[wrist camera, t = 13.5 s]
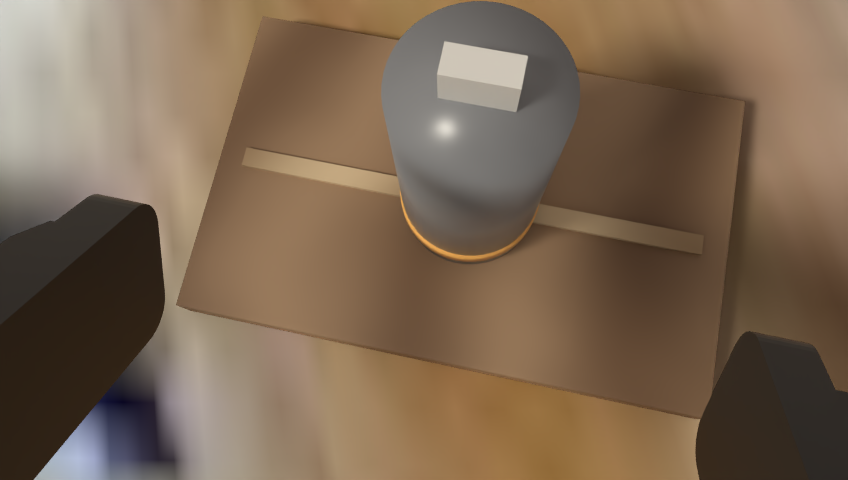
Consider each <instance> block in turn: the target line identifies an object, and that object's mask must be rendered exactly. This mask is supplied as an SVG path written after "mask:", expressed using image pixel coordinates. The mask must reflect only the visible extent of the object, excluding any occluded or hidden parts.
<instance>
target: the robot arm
mask: <svg viewBox="0 0 848 480" xmlns="http://www.w3.org/2000/svg"><path fill="white" fill-rule="evenodd" d="M164 304H165V290H164V279H163V269H162V258H161V248H160V237H159V227H158V219H157V215H156V212H155V210H154V209H153V208H152V207H151V206H150V205H147V204H143V203H138V202H133V201H128V200H123V199H118V198H114V197H109V196H104V195H99V194H94V195H91V196H89V197H87V198H86V199H84V200H83V201H82V202H80V203H79V204H78V205H76V206H75V207H74V208H73V209H71V210H70V211H69V212H67V213H66V214H65V215H63V216H62V217H61V218H59V219H58V220H57V221H55V222H53V221H49V222H46V223H44V224H41V225H39V226H36V227H34V228H31V229H29V230H26V231H23V232H21V233H18V234H16V235H13V236H11V237H9V238H8V239H6V240H5V241H4V242H2V243H1V244H0V480H34V478H35V477H36V476H37V475H38V474H39V472H40V471H41V470H42V469H43V468H44V466H45V465H46V464H47V463H48V462H49V460H50V459H51V458H52V457H53V456H54V454H55V453H56V452H57V451H58V450H59V448H60V447H61V446H62V445H63V444H64V442H65V441H66V440H67V439H68V438H69V436H70V435H71V434H72V433H73V432H74V430H75V429H76V428H77V427H78V426H79V424H80V423H81V422H82V421H83V420H84V418H85V417H86V416H87V415H88V414H89V412H90V411H91V410H92V409H93V408H94V406H95V405H96V404H97V403H98V402H99V400H100V399H101V398H102V397H103V396H104V394H105V393H106V392H107V391H108V389H109V388H110V387H111V386H112V385H113V383H114V382H115V381H116V380H117V379H118V377H119V376H120V375H121V374H122V373H123V371H124V370H125V369H126V368H127V367H128V365H129V364H130V363H131V362H132V361H133V359H134V358H135V357H136V356H137V355H138V353H139V352H140V351H141V350H142V349H143V347H144V346H145V345H146V344H147V343H148V341H149V340H150V339H151V338H152V336H153V335H154V333H155V331H156V330H157V328H158V325H159V323H160V320H161V317H162V314H163V310H164ZM696 464H697V469H698V474H699V480H848V393H847V392H843V391H838V390H835V388H834V386H833V384H832V381H831V379H830V377H829V375H828V373H827V371H826V369H825V367H824V364H823V362H822V360H821V358H820V356H819V354H818V352H817V350H816V348H815V347H814V346H813V345H811V344H808V343H804V342H799V341H794V340H789V339H784V338H780V337H775V336H770V335H765V334H760V333H756V332H750V331H748V332H745V333H744V334H743V335H742V336H741V337H740V338H739V340H738V341H737V343H736V345H735V347H734V349H733V351H732V353H731V355H730V357H729V359H728V362H727V364H726V366H725V368H724V370H723V372H722V374H721V376H720V378H719V381H718V383H717V385H716V387H715V389H714V391H713V393H712V395H711V397H710V400H709V402H708V404H707V406H706V408H705V410H704V412H703V415H702V417H701V420H700V423H699V427H698V432H697V438H696Z"/></svg>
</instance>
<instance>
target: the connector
mask: <svg viewBox="0 0 848 480" xmlns="http://www.w3.org/2000/svg"><path fill="white" fill-rule="evenodd" d="M381 99H382V108H383V112H384V117H385V122H386V126H387V131H388V135H389V140H390V145H391V149H392V154H393V159H394V163H395V168H396V173H397V177H398V182H399V187H400V197H401V204H402V208H403V212H404V216H405V219H406V221H407V223H408V225H409V227H410V229H411V231H412V232H413V234H414V236H415V237H416V238H417V240H418V241H419V242H420V243H421V244H422V245H423V246H424V247H425V248H426V249H427V250H429V251H430V252H431V253H433V254H434V255H436V256H438V257H440V258H442V259H444V260H447V261H450V262H454V263H459V264H480V263H485V262H489V261H492V260H495V259H497V258H499V257H501V256H503V255H505V254H506V253H508V252H509V251H510V250H512V249H513V248H514V247H515V246H516V245H517V244H518V243H519V242H520V241H521V240H522V238H523V237H524V236H525V235H526V233H527V232H528V230H529V229H530V227H531V225H532V223H533V221H534V218H535V216H536V214H537V211H538V207H539V203H540V201H541V198H542V196H543V194H544V191H545V189H546V187H547V185H548V182H549V180H550V178H551V176H552V173H553V171H554V169H555V166H556V164H557V162H558V160H559V157H560V155H561V153H562V151H563V148H564V146H565V144H566V142H567V139H568V137H569V135H570V132H571V130H572V128H573V125H574V123H575V120H576V117H577V113H578V109H579V102H580V82H579V77H578V72H577V68H576V66H575V63H574V60H573V58H572V56H571V54H570V52H569V50H568V48H567V47H566V45H565V44H564V42H563V41H562V39H561V38H560V37H559V36H558V35H557V34H556V33H555V32H554V31H553V30H552V29H551V28H550V27H549V26H548V25H547V24H545V23H544V22H543V21H541V20H540V19H538V18H537V17H535V16H534V15H532V14H530V13H528V12H526V11H524V10H522V9H519V8H516V7H513V6H510V5H506V4H502V3H496V2H487V1H473V2H465V3H459V4H455V5H451V6H447V7H445V8H442V9H439V10H437V11H435V12H433V13H431V14H429V15H427V16H425V17H424V18H422V19H421V20H419V21H418V22H417V23H415V24H414V25H413V26H412V27H411V28H410V29H409V30H407V31H406V33H405V34H404V35H403V36H402V37H401V38H400V39H399V41H398V42H397V44H396V45H395V47H394V48H393V50H392V52H391V54H390V56H389V58H388V60H387V63H386V66H385V69H384V72H383V78H382V84H381Z"/></svg>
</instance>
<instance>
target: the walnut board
mask: <svg viewBox="0 0 848 480" xmlns="http://www.w3.org/2000/svg"><path fill="white" fill-rule="evenodd" d="M398 41H399V40H394V39H389V38H383V37H377V36H372V35H366V34H360V33H355V32H349V31H343V30H338V29H332V28H326V27H321V26H315V25H309V24H304V23H298V22H292V21H287V20H281V19H275V18H270V17H264V16H263V17H262V20H261V23H260V27H259V30H258V33H257V37H256V40H255V43H254V47H253V50H252V53H251V57H250V60H249V63H248V67H247V70H246V73H245V77H244V80H243V83H242V87H241V90H240V93H239V97H238V100H237V103H236V107H235V110H234V113H233V117H232V120H231V123H230V127H229V130H228V133H227V137H226V140H225V143H224V147H223V150H222V153H221V157H220V160H219V163H218V167H217V170H216V173H215V177H214V180H213V183H212V187H211V190H210V193H209V197H208V200H207V203H206V207H205V210H204V213H203V217H202V220H201V223H200V227H199V230H198V233H197V237H196V240H195V243H194V247H193V250H192V253H191V257H190V260H189V263H188V267H187V270H186V273H185V277H184V280H183V283H182V287H181V290H180V293H179V297H178V300H177V303H176V305H178V306H180V307H183V308H185V309H188V310H190V311H195V312H200V313H204V314H209V315H214V316H218V317H223V318H228V319H232V320H237V321H242V322H246V323H251V324H256V325H260V326H265V327H270V328H274V329H279V330H283V331H288V332H293V333H297V334H302V335H307V336H311V337H316V338H321V339H325V340H330V341H335V342H339V343H344V344H349V345H353V346H358V347H363V348H367V349H372V350H377V351H381V352H386V353H391V354H395V355H400V356H405V357H409V358H414V359H419V360H423V361H428V362H433V363H437V364H442V365H447V366H451V367H456V368H461V369H465V370H470V371H475V372H479V373H484V374H488V375H493V376H498V377H502V378H507V379H512V380H516V381H521V382H526V383H530V384H535V385H540V386H544V387H549V388H554V389H558V390H563V391H568V392H572V393H577V394H582V395H586V396H591V397H596V398H600V399H605V400H610V401H614V402H619V403H624V404H628V405H633V406H638V407H642V408H647V409H652V410H656V411H661V412H666V413H670V414H675V415H680V416H684V417H689V418H694V419H701V417H702V415H703V412H704V410H705V408H706V406H707V404H708V402H709V400H710V397H711V395H712V387H713V379H714V370H715V361H716V352H717V343H718V335H719V326H720V317H721V308H722V299H723V291H724V282H725V273H726V264H727V255H728V247H729V238H730V229H731V220H732V211H733V203H734V194H735V185H736V176H737V167H738V159H739V150H740V141H741V132H742V123H743V114H744V106H745V101H741V100H735V99H730V98H724V97H718V96H713V95H707V94H701V93H696V92H690V91H684V90H678V89H673V88H667V87H661V86H656V85H650V84H644V83H639V82H633V81H627V80H622V79H616V78H610V77H605V76H599V75H593V74H588V73H582V72H578V77H579V82H580V102H579V109H578V113H577V117H576V120H575V123H574V125H573V128H572V130H571V132H570V135H569V137H568V139H567V142H566V144H565V146H564V148H563V151H562V153H561V155H560V157H559V160H558V162H557V164H556V166H555V169H554V171H553V173H552V176H551V178H550V180H549V182H548V185H547V187H546V189H545V191H544V194H543V196H542V198H541V201H540V203H539V207H538V211H537V214H536V216H535V218H534V221H533V223H532V225H531V227H530V229H529V230H528V232H527V233H526V235H525V236H524V237H523V238H522V240H521V241H520V242H519V243H518V244H517V245H516V246H515V247H514V248H513V249H512V250H510V251H509V252H508V253H506V254H505V255H503V256H501V257H499V258H497V259H495V260H492V261H489V262H485V263H480V264H459V263H454V262H450V261H447V260H444V259H442V258H440V257H438V256H436V255H434V254H433V253H431V252H430V251H429V250H427V249H426V248H425V247H424V246H423V245H422V244H421V243H420V242H419V241H418V240H417V238H416V237H415V236H414V234H413V232H412V231H411V229H410V227H409V225H408V223H407V221H406V219H405V216H404V212H403V208H402V204H401V197H400V187H399V182H398V177H397V173H396V168H395V163H394V159H393V154H392V149H391V145H390V140H389V135H388V131H387V126H386V122H385V117H384V112H383V108H382V99H381V84H382V78H383V72H384V69H385V66H386V63H387V60H388V58H389V56H390V54H391V52H392V50H393V48H394V47H395V45H396V44H397V42H398Z"/></svg>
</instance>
